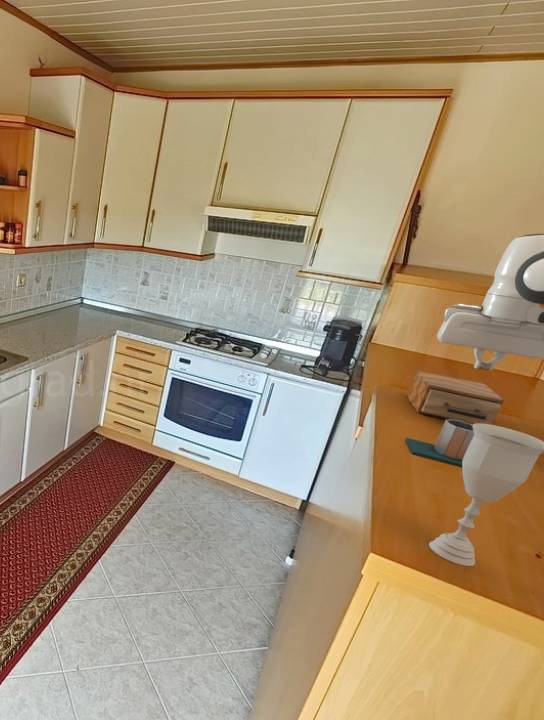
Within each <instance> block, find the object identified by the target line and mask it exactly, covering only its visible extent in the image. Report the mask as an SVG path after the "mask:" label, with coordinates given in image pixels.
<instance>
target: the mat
mask: <svg viewBox="0 0 544 720" xmlns="http://www.w3.org/2000/svg"><path fill="white" fill-rule="evenodd" d="M405 442H406V444H407V446H408V448H409V450H410V452H411V454H412V455H415V456H418V457H422V458H426V459H430V460H434V461H437V462H441V463H445V464H450V465H453V466H457V467H461V468H462V461H459V460H454V459H451V458H448V457H445V456H443V455H441V454H439V453H438V452H436V450H435V448H434V446H435V444H434V443H429V442H425V441H421V440H417V439H413V438H409V437H406V438H405Z"/></svg>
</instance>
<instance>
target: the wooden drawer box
mask: <svg viewBox="0 0 544 720" xmlns="http://www.w3.org/2000/svg"><path fill="white" fill-rule="evenodd" d="M500 407H501V408H502V406H501V404H500V403H495V402H493V401H489V400H485V399H480V398H475V397H471V396H466V395H461V394H456V393H452V392H447V391H442V390H437V389H433V388H431V389H430V391H429V394H428V396H427V398H426V401H425V403H424V406H423V408H422V412H426V413H430V414H434V415H439V416H443V417H447V418H452V419H456V420H461V421H465V422H469V423H474V424H477V423H479V424H489V425H492V424H493V425H494V423H495V420H496V418H497V416H498V414H499V412H500V410H501V408H500ZM499 409H500V410H499ZM498 411H499V412H498ZM497 413H498V414H497ZM496 415H497V416H496ZM495 417H496V418H495ZM494 419H495V420H494ZM493 422H494V423H493Z"/></svg>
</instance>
